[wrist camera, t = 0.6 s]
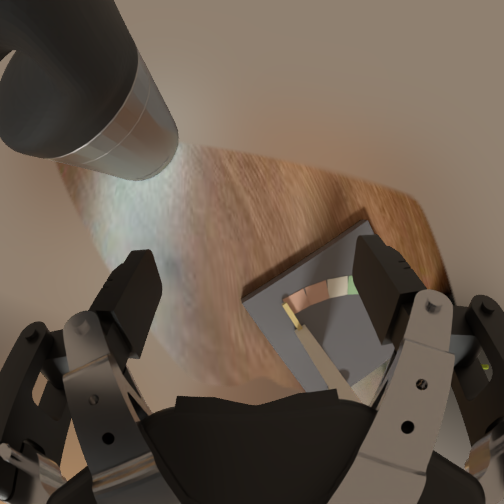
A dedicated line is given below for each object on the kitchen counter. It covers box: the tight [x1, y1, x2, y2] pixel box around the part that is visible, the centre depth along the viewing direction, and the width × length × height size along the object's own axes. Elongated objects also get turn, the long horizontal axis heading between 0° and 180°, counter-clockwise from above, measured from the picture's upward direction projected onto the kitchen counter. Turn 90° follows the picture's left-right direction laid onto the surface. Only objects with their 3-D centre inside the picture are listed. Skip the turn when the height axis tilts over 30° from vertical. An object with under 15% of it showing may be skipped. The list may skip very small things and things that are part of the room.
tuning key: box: [282, 302, 362, 403], centre depth 25 cm, size 18×3×16 cm, turn 32°
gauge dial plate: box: [241, 220, 394, 392], centre depth 34 cm, size 21×18×2 cm
